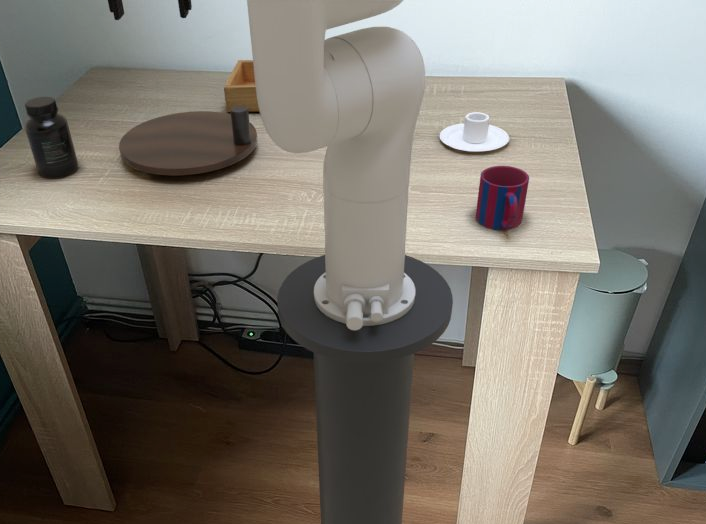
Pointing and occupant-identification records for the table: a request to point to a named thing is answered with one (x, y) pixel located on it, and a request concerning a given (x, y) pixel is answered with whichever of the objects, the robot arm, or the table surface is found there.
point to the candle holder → (474, 134)
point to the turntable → (189, 142)
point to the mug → (501, 197)
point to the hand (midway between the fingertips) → (152, 16)
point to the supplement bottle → (49, 138)
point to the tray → (241, 87)
